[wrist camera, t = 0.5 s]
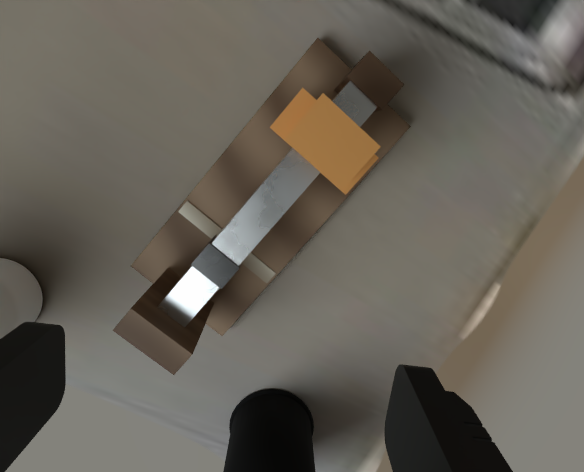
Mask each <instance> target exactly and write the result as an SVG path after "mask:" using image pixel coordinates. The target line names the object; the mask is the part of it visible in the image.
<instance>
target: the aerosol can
mask: <svg viewBox="0 0 584 472" xmlns="http://www.w3.org/2000/svg"><path fill="white" fill-rule="evenodd" d="M229 428H230V439H229V444H228V450H227V456H226V461H225V467H224V472H315V464H314V453H313V443H312V435H313V428H314V425H313V418H312V415H311V413H310V411H309V409H308V407H307V406H306V405H305V404H304V402H303V401H302V400H300V399H299V398H298V397H296V396H295V395H293V394H291V393H289V392H285V391H282V390H273V389H270V390H262V391H258V392H255V393H253V394H251V395H249V396H247V397H246V398H244V399H243V400H242V401H241V402H240V403H239V404H238V405H237V406H236V408H235V410H234V411H233V413H232V416H231V419H230V427H229Z"/></svg>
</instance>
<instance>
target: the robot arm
mask: <svg viewBox="0 0 584 472" xmlns="http://www.w3.org/2000/svg"><path fill="white" fill-rule="evenodd" d="M64 391H65V333H64V329H63V328H62V326H60V325H54V324H45V323H36V322H24V323H22V324H21V325H19V326H18V327H16V328H15V329H14V330H12V331H11V332H9V333H8V334H7V335H5V336H4V337H2V338H1V339H0V472H5V471H6V470H7V468H8V467H9V466H10V465H11V464H12V463H13V461H14V460H15V459H16V458H17V457H18V455H19V454H20V453H21V452H22V451H23V449H24V448H25V447H26V446H27V445H28V444H29V442H30V441H31V440H32V439H33V438H34V437H35V435H36V434H37V433H38V432H39V430H40V429H41V428H42V427H43V426H44V424H46V422H47V421H48V420H49V419H50V418H51V416H52V415H53V414H54V413H55V412H56V410H57V409H58V407H59V405H60V403H61V401H62V398H63V395H64ZM385 444H386V449H387V452H388V456H389V460H390V463H391V466H392V470H393V472H513V471H512V470H511V468H510V467H509V465H508V463H507V462H506V461H505V459H504V457H503V456H502V454H501V453H500V451H499V449H498V448H497V446H496V445H495V443H493V442H492V439H491V437H490V435H489V434H488V433H487V431H486V429H485V428H483V427H482V423H481V421H480V420H479V418H478V417H477V415H476V414H475V412H474V410H473V409H472V407H471V406H469V405H468V404H467V403H466V402H465V401H464V400H462V399H461V398H460V397H459V396H458V395H457V394H455V393H454V392H449V391H445V390H444V388H443V386H442V384H441V383H440V381H439V379H438V377H437V376H436V374H435V372H434V371H433V369H431V368H427V367H418V366H409V365H399V366H398V367H397V369H396V372H395V376H394V381H393V386H392V391H391V396H390V401H389V405H388V410H387V415H386V420H385Z"/></svg>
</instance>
